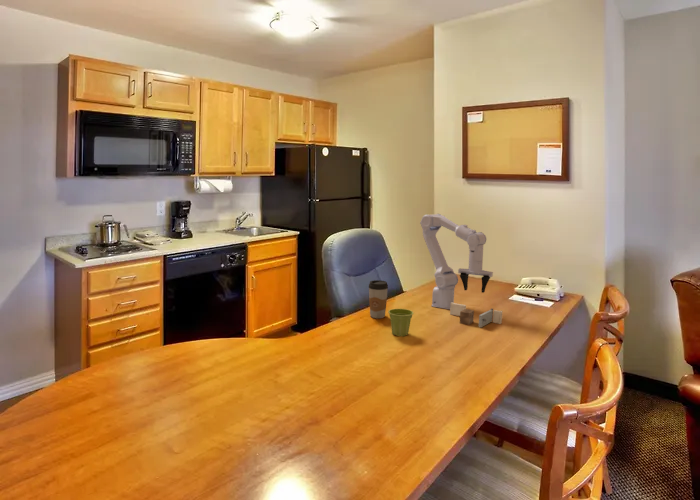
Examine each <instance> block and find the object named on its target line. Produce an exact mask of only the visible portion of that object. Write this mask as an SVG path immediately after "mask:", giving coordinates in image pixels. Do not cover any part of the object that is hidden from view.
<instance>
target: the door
mask: <svg viewBox="0 0 700 500" xmlns="http://www.w3.org/2000/svg"><path fill="white" fill-rule="evenodd" d="M493 313H494V308H490V309H489V310H487V311H485V312H483V313H481V314H479V315H478V327H479V328H483V327H485V326H486V325H488V324H490V323H491V322H492V323H493Z"/></svg>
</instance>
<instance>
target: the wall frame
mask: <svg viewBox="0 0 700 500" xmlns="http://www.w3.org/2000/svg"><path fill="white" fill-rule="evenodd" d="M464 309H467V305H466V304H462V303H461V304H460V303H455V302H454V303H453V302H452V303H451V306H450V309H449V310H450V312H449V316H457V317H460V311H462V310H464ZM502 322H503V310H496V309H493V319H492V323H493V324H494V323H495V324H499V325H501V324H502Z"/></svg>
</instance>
